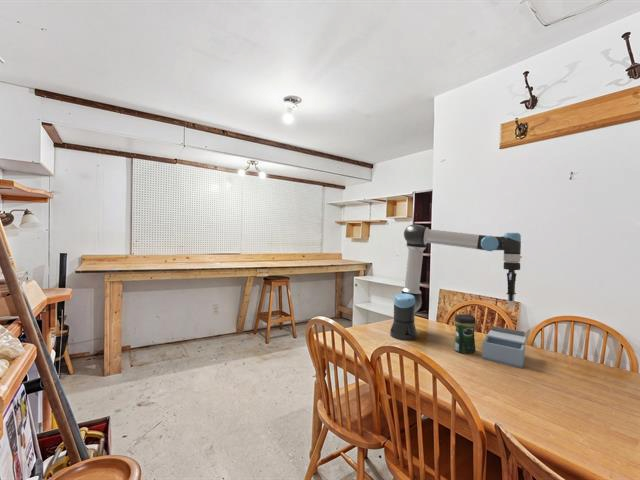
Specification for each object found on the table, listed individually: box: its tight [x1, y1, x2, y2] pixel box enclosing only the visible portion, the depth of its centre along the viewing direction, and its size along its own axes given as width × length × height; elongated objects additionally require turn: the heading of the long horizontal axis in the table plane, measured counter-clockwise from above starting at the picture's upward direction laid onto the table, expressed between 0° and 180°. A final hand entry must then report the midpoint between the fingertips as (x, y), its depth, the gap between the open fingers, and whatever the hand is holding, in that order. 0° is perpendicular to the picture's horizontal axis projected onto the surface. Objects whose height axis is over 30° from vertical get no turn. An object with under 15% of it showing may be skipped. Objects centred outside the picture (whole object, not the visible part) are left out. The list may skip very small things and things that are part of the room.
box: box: [481, 336, 526, 369], centre depth 145 cm, size 16×12×8 cm
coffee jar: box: [453, 313, 477, 354], centre depth 155 cm, size 10×8×19 cm
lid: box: [486, 325, 527, 344], centre depth 152 cm, size 16×12×3 cm
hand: (511, 306), depth 161 cm, fingers closed
